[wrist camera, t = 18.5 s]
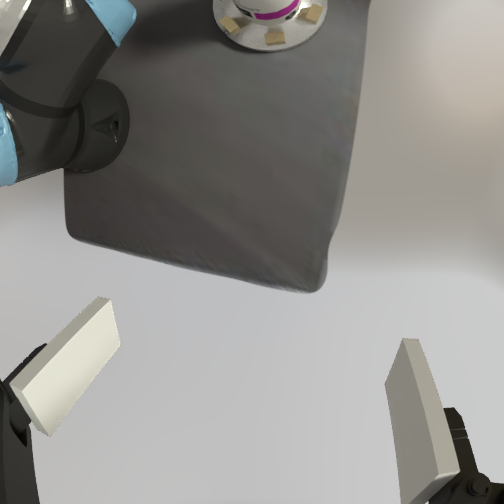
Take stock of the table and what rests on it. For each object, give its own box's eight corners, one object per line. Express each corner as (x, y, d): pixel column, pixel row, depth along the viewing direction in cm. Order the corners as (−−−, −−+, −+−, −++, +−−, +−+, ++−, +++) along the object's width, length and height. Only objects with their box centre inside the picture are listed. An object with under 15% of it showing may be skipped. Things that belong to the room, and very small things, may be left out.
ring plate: (260, 73, 36) (256, 69, 34) (195, 3, 33) (188, -3, 31) (350, 15, 31) (352, 8, 28) (278, -51, 28) (276, -61, 25)
